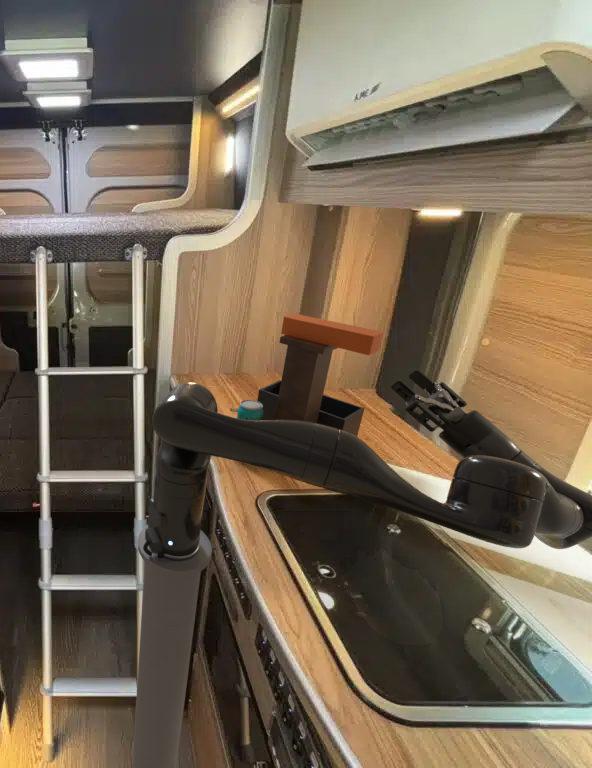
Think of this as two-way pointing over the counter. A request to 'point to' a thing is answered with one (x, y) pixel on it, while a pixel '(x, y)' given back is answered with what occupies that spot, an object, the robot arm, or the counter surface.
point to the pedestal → (303, 379)
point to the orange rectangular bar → (332, 333)
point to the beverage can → (250, 410)
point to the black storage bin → (329, 414)
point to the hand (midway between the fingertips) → (404, 377)
